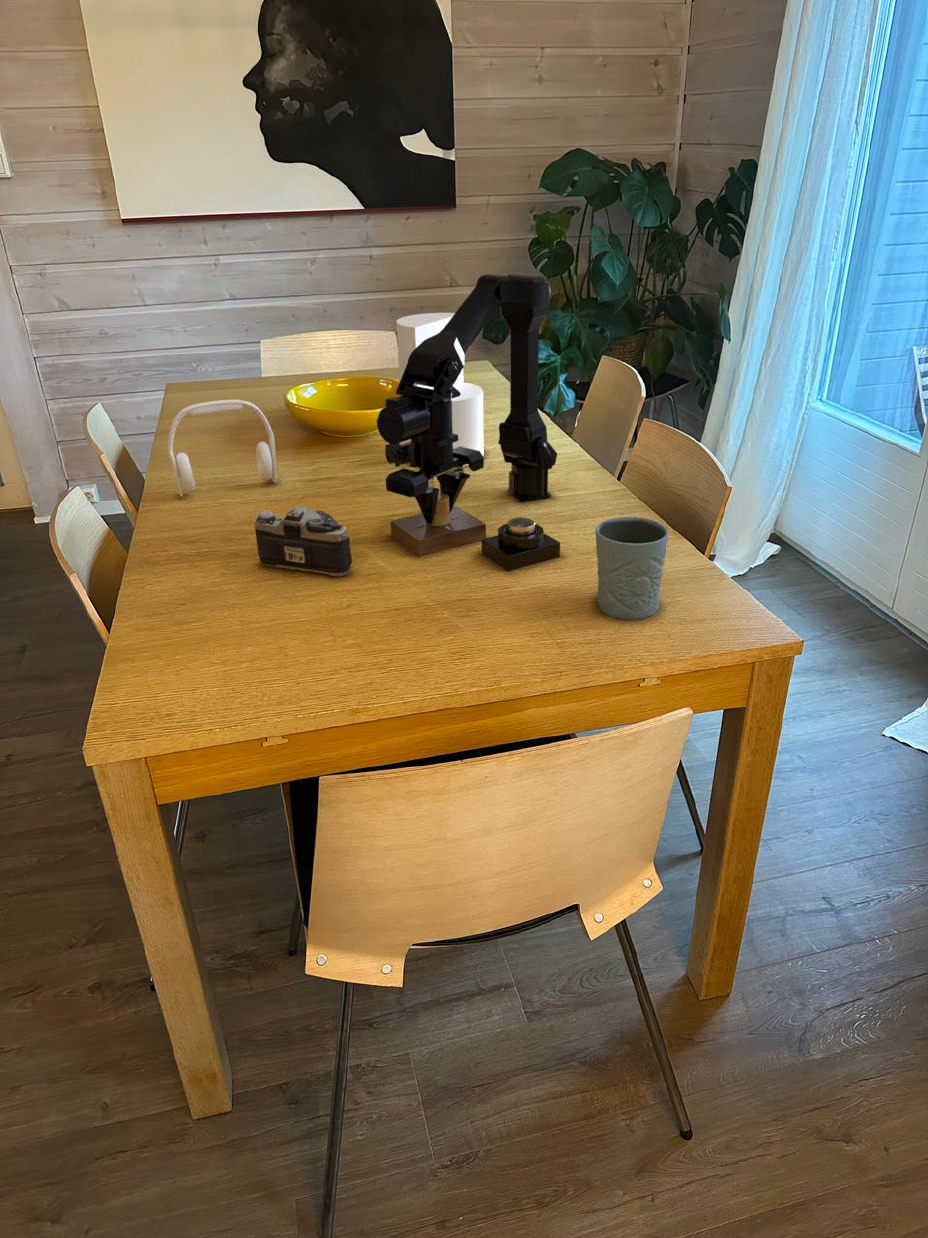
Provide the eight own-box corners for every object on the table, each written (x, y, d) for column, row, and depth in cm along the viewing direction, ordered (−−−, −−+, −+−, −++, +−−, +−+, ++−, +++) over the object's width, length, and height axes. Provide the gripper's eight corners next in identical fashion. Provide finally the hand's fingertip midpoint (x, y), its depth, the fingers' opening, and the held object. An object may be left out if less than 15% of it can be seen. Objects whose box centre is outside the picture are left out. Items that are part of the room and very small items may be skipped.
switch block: (531, 541, 153) (532, 516, 150) (559, 557, 147) (560, 531, 144) (481, 554, 148) (481, 528, 146) (508, 571, 142) (508, 545, 140)
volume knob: (434, 515, 155) (433, 489, 153) (454, 520, 153) (453, 493, 151) (421, 523, 152) (420, 496, 150) (440, 528, 150) (440, 501, 148)
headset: (178, 504, 170) (161, 411, 162) (174, 492, 176) (157, 402, 167) (283, 489, 177) (272, 399, 168) (276, 478, 182) (265, 390, 174)
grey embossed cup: (645, 628, 125) (652, 549, 120) (579, 611, 130) (583, 534, 124) (671, 599, 133) (679, 524, 127) (608, 584, 138) (613, 510, 132)
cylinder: (386, 460, 191) (378, 323, 178) (432, 439, 204) (427, 310, 191) (455, 473, 183) (452, 331, 170) (498, 450, 196) (498, 316, 183)
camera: (370, 555, 148) (366, 497, 144) (342, 581, 140) (337, 521, 135) (285, 543, 153) (278, 487, 148) (253, 568, 145) (245, 509, 140)
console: (456, 521, 161) (455, 504, 159) (486, 540, 153) (486, 522, 152) (391, 537, 155) (390, 519, 154) (418, 557, 147) (418, 539, 146)
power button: (524, 525, 148) (524, 515, 147) (539, 534, 145) (540, 524, 144) (502, 531, 146) (502, 521, 145) (517, 540, 143) (517, 529, 142)
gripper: (434, 408, 156) (437, 493, 163) (358, 434, 143) (364, 525, 151) (485, 418, 150) (486, 507, 157) (410, 446, 137) (414, 541, 144)
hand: (437, 519), depth 153 cm, fingers closed on volume knob, 4 cm apart
